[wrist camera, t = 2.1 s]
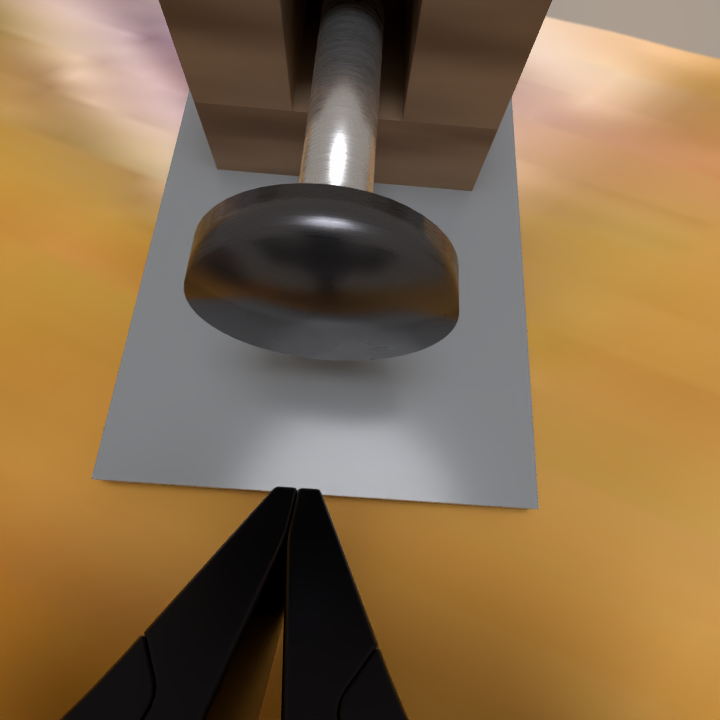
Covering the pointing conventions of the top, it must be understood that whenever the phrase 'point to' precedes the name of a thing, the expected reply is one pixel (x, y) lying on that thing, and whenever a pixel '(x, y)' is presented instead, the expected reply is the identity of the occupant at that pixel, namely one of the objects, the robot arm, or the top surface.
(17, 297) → the top surface
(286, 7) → the press housing
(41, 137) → the top surface
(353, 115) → the plunger
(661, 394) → the top surface
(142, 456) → the slate board
